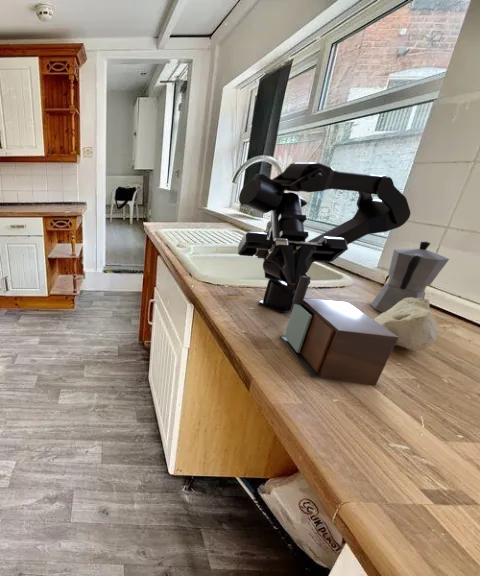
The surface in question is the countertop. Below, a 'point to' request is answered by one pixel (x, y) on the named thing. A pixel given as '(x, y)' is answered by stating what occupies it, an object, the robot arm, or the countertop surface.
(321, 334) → the cabinet
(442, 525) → the countertop surface
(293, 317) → the cleaver
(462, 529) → the countertop surface
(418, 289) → the coffeepot
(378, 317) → the beige rock
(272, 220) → the robot arm
